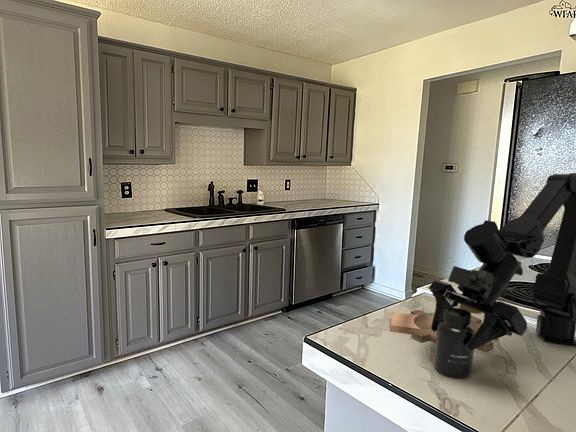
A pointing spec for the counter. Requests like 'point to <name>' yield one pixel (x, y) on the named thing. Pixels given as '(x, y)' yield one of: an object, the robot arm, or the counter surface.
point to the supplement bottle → (454, 344)
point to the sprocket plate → (426, 326)
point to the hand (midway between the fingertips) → (450, 339)
